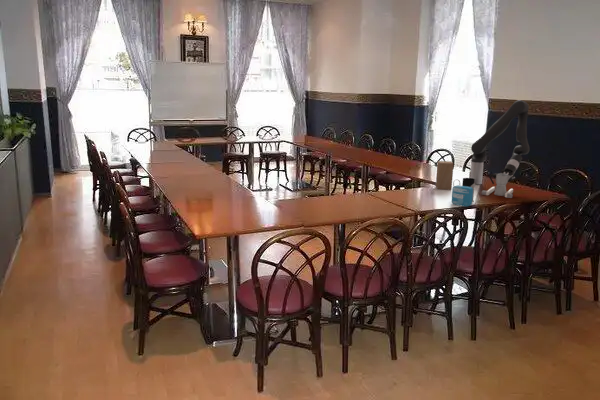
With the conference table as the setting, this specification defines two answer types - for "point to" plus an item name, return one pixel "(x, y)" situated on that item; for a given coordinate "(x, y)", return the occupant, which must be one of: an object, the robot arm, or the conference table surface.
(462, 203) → the data package
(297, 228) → the conference table surface
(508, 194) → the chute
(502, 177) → the coffee maker
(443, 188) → the wooden block
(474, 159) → the robot arm
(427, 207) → the conference table surface
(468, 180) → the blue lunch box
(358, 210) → the conference table surface
